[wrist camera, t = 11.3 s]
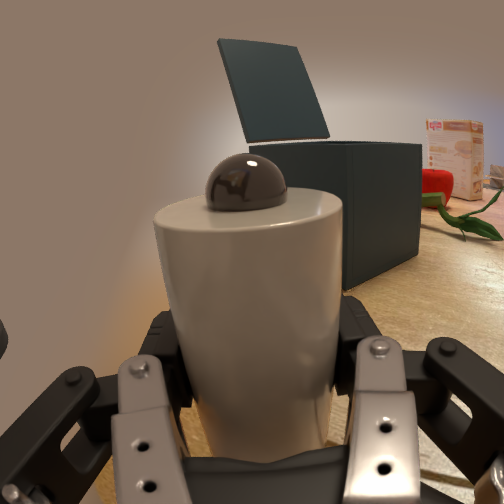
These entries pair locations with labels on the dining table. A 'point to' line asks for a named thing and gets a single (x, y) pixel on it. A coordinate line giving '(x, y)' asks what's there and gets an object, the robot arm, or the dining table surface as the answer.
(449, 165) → the coffeecake box
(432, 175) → the apple
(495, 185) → the architectural model
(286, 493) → the robot arm
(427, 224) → the dining table surface
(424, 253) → the dining table surface
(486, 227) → the decorative plant
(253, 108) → the lid
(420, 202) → the chest
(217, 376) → the pepper mill
